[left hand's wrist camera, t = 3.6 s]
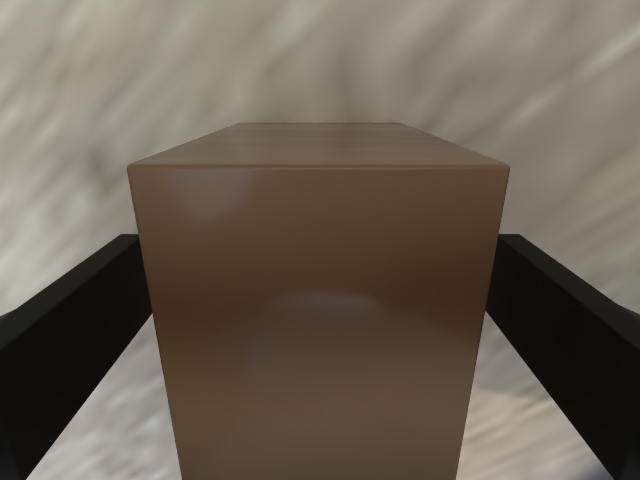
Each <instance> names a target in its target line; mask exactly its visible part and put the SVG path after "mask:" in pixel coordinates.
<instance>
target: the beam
mask: <svg viewBox="0 0 640 480" xmlns="http://www.w3.org/2000/svg"><path fill="white" fill-rule="evenodd" d="M509 171H510V168H509V165H507V164H505V163H502V162H500V161H497V160H494V159H492V158H489V157H487V156H484V155H481V154H479V153H476V152H474V151H471V150H468V149H466V148H463V147H461V146H458V145H455V144H453V143H450V142H448V141H445V140H443V139H440V138H437V137H435V136H432V135H430V134H427V133H424V132H422V131H419V130H417V129H414V128H411V127H409V126H406V125H404V124H401V123H238V124H235V125H233V126H230V127H227V128H225V129H222V130H220V131H217V132H214V133H212V134H209V135H206V136H204V137H201V138H198V139H196V140H193V141H190V142H188V143H185V144H182V145H180V146H177V147H174V148H172V149H169V150H166V151H164V152H161V153H158V154H156V155H153V156H150V157H148V158H145V159H143V160H140V161H137V162H135V163H132V164H130V165H128V166H127V172H128V178H129V183H130V189H131V195H132V200H133V206H134V211H135V217H136V223H137V228H138V234H139V240H140V245H141V251H142V256H143V262H144V268H145V273H146V279H147V285H148V290H149V296H150V301H151V307H152V313H153V318H154V324H155V329H156V335H157V341H158V346H159V352H160V358H161V363H162V369H163V374H164V380H165V386H166V391H167V397H168V403H169V408H170V414H171V419H172V425H173V431H174V436H175V442H176V447H177V453H178V459H179V464H180V470H181V476H182V480H456V474H457V468H458V462H459V457H460V451H461V445H462V440H463V434H464V428H465V422H466V417H467V411H468V405H469V400H470V394H471V388H472V382H473V377H474V371H475V365H476V360H477V354H478V348H479V342H480V337H481V331H482V325H483V320H484V314H485V308H486V302H487V297H488V291H489V285H490V280H491V274H492V268H493V262H494V257H495V251H496V245H497V240H498V234H499V228H500V222H501V217H502V211H503V205H504V200H505V194H506V188H507V182H508V177H509Z"/></svg>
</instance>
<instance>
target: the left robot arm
mask: <svg viewBox="0 0 640 480" xmlns="http://www.w3.org/2000/svg"><path fill="white" fill-rule="evenodd" d="M485 310H486V311H487V313H488V314H489V315H490V317H491V318H492V319H493V321H494V322H495V323H496V325H497V326H498V327H499V329H500V330H501V331H502V333H503V334H504V335H505V337H506V338H507V339H508V340H509V342H510V343H511V344H512V346H513V347H514V348H515V350H516V351H517V352H518V354H519V355H520V356H521V358H522V359H523V360H524V362H525V363H526V364H527V365H528V367H529V368H530V369H531V371H532V372H533V373H534V375H535V376H536V377H537V379H538V380H539V381H540V383H541V384H542V385H543V387H544V388H545V389H546V391H547V392H548V393H549V394H550V396H551V397H552V398H553V400H554V401H555V402H556V404H557V405H558V406H559V408H560V409H561V410H562V412H563V413H564V414H565V416H566V417H567V418H568V419H569V421H570V422H571V423H572V425H573V426H574V427H575V429H576V430H577V431H578V433H579V434H580V435H581V437H582V438H583V439H584V441H585V442H586V443H587V444H588V446H589V447H590V448H591V450H592V451H593V452H594V454H595V455H596V456H597V458H598V459H599V460H600V462H601V463H602V464H603V466H604V467H605V468H606V470H607V471H608V472H609V473H610V475H611V476H612V477H613V479H614V480H640V315H639V314H637V313H635V312H633V311H631V310H629V309H626V308H624V307H622V306H620V305H618V304H616V303H615V302H613V301H612V300H611V299H609V298H608V297H606V296H605V295H604V294H602V293H601V292H599V291H598V290H597V289H595V288H594V287H592V286H591V285H590V284H588V283H587V282H585V281H584V280H583V279H581V278H580V277H578V276H577V275H576V274H574V273H573V272H571V271H570V270H569V269H567V268H566V267H564V266H563V265H562V264H560V263H559V262H557V261H556V260H555V259H553V258H552V257H550V256H549V255H548V254H546V253H545V252H543V251H542V250H540V249H539V248H538V247H536V246H535V245H533V244H532V243H531V242H529V241H528V240H526V239H525V238H524V237H522V236H521V235H519V234H498V240H497V245H496V251H495V257H494V262H493V268H492V274H491V280H490V285H489V291H488V297H487V302H486V308H485ZM151 314H152V307H151V301H150V296H149V290H148V285H147V279H146V273H145V268H144V262H143V256H142V251H141V245H140V240H139V234H121V235H119V236H118V237H116V238H115V239H114V240H112V241H111V242H109V243H108V244H107V245H105V246H104V247H102V248H101V249H100V250H98V251H97V252H95V253H94V254H93V255H91V256H90V257H88V258H87V259H85V260H84V261H83V262H81V263H80V264H78V265H77V266H76V267H74V268H73V269H71V270H70V271H69V272H67V273H66V274H64V275H63V276H62V277H60V278H59V279H57V280H56V281H55V282H53V283H52V284H50V285H49V286H48V287H46V288H45V289H43V290H42V291H41V292H39V293H38V294H36V295H35V296H34V297H32V298H31V299H29V300H28V301H27V302H25V303H24V304H22V305H21V306H20V307H18V308H17V309H15V310H13V311H11V312H9V313H6V314H4V315H2V316H0V480H26V479H27V477H28V476H29V475H30V473H31V472H32V471H33V470H34V468H35V467H36V466H37V464H38V463H39V462H40V460H41V459H42V458H43V456H44V455H45V454H46V452H47V451H48V450H49V448H50V447H51V446H52V445H53V443H54V442H55V441H56V439H57V438H58V437H59V435H60V434H61V433H62V431H63V430H64V429H65V427H66V426H67V425H68V423H69V422H70V421H71V419H72V418H73V417H74V416H75V414H76V413H77V412H78V410H79V409H80V408H81V406H82V405H83V404H84V402H85V401H86V400H87V398H88V397H89V396H90V394H91V393H92V392H93V391H94V389H95V388H96V387H97V385H98V384H99V383H100V381H101V380H102V379H103V377H104V376H105V375H106V373H107V372H108V371H109V369H110V368H111V367H112V365H113V364H114V363H115V362H116V360H117V359H118V358H119V356H120V355H121V354H122V352H123V351H124V350H125V348H126V347H127V346H128V344H129V343H130V342H131V340H132V339H133V338H134V337H135V335H136V334H137V333H138V331H139V330H140V329H141V327H142V326H143V325H144V323H145V322H146V321H147V319H148V318H149V317H150V315H151Z"/></svg>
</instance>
